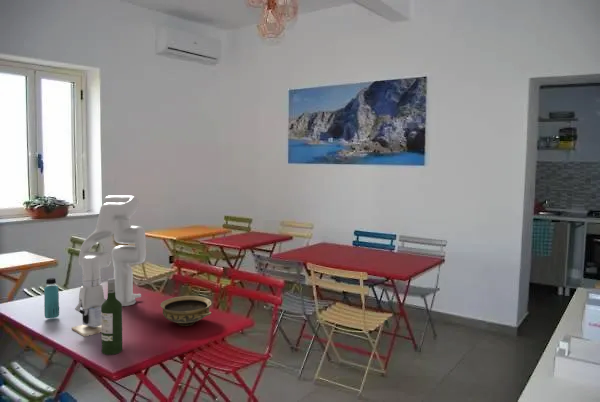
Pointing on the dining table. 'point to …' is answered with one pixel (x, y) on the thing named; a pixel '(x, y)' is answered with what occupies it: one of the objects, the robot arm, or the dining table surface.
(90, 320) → the medicine box
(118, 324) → the wine bottle
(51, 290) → the beverage bottle
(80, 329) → the birch board
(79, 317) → the dining table surface
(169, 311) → the ceramic bowl
